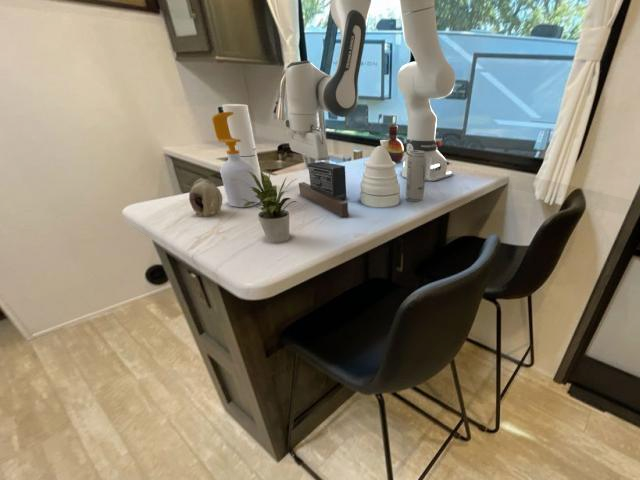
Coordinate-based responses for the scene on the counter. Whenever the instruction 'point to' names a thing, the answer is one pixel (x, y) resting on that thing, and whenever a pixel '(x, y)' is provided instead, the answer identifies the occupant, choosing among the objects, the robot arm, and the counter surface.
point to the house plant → (271, 209)
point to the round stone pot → (205, 198)
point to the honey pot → (380, 179)
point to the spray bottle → (234, 167)
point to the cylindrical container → (243, 135)
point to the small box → (328, 178)
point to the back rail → (324, 199)
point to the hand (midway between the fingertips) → (310, 169)
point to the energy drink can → (416, 175)
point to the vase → (394, 145)
